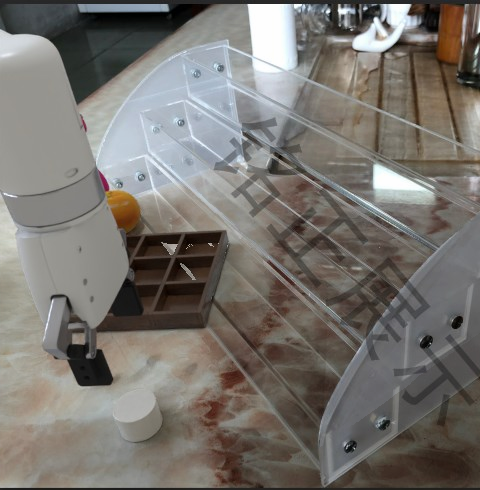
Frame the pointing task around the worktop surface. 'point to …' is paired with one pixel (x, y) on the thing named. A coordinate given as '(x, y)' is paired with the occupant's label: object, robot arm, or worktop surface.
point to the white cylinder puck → (137, 415)
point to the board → (171, 280)
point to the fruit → (124, 209)
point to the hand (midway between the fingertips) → (114, 346)
